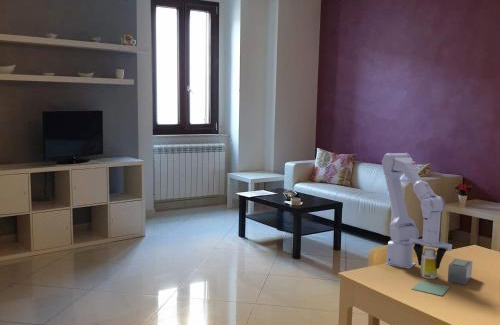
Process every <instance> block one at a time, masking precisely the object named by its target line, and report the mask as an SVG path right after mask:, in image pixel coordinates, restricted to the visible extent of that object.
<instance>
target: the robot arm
mask: <svg viewBox="0 0 500 325" xmlns="http://www.w3.org/2000/svg"><path fill="white" fill-rule="evenodd" d="M413 163H414V162H413V158H412V157H411V155H410V153H408V152H404V153H402V152H401V153H400V152H397V153H396V152H395V153H390V152H387V153H385V154H384V156H383V158H382V160H381V165H382V169H383V170H382V171H383V175H384V177H385V178H384V179H385V184H386V188H387V192H388V195H389V201H390V206H391V211H392V214H393V220H392V221H391V222H390V224H389V229H390V230H389V237H390V240H389V241H388V243H387V246H386V262H385V265H389V266H393V267H399V268H403V269H409V270H410V269H412V267H414V266H415V265H416V262H413V258H414V255H413V254H414V252H415V255H416V257H417V258H416V259H417V263H418V266H420V267H421V255H422V254H423V253H424V247H426V248H432V249H437V250H436V255H437V262H436V269H437V270H438V269H440V266H441V262H442V260H443V258H444V255H445V254H446V252H447V251H450V252H451V251H452V248H453V244H450V243H446V242H443V241H440V232H441V231H440V229H441V213H442V212H444V210H445V208H446V202H445V200H444V198H443V197H442V196H439V195H438V194H435V192H434V191H433V189H432V188H431V186H430V185H429V182H427V181H426V180H422V179H421V178H420V176H419V173H418V172H417V170H416V169H415V166H414V165H413ZM403 175H404V176H405V177H406V178H407V179H408V180H409V182H410V183H411V184H412V186H413V187H412V191H413V193H414V194H415V195H416V197H417V198H418V200H419V201H420V209H421V212H422V213H421V214H422V218H423V219H422V220H423V221H422V222H423V223H422V238H419V235H420V234H419V228H418V227H417V226H416V222H415V220H413V219H412V218H411V217H409V214H408V211H407V210H408V209H407V205H406V201H405V196H404V192H403V188H402V182H401V176H403Z"/></svg>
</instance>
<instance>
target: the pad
mask: <svg viewBox="0 0 500 325" xmlns="http://www.w3.org/2000/svg"><path fill="white" fill-rule="evenodd" d="M449 289H450V286H447V285H443V284H436V283H432V282H427V281H423V280H420V281H418V282H417V283H416V284H415V285H414V286H413V287H412V288H411V290H414V291H418V292H422V293H426V294H431V295H436V296H441V297H443V296H444V295H445V294H446V293H447V291H448V290H449Z"/></svg>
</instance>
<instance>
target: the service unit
mask: <svg viewBox="0 0 500 325" xmlns="http://www.w3.org/2000/svg"><path fill="white" fill-rule="evenodd" d="M472 272H473V261H471V260H466V259H460V258H454V259H453V260H452V261H451V262H450V263H449V264H448V273H447V282H449V283H452V282H453V283H452V284H458V285H463V286H466V285H467V284H468V283H469V282H470V280H471V279H472Z"/></svg>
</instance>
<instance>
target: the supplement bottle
mask: <svg viewBox="0 0 500 325" xmlns="http://www.w3.org/2000/svg"><path fill="white" fill-rule="evenodd" d="M436 251H437V250H436V248H433V247H425V248H423V254H422V255H421V266H420V277H422V278H424V279H430V280H431V279H436V278H437V274H438V273H437V270H438V269H436V262H437V252H436Z"/></svg>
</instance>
